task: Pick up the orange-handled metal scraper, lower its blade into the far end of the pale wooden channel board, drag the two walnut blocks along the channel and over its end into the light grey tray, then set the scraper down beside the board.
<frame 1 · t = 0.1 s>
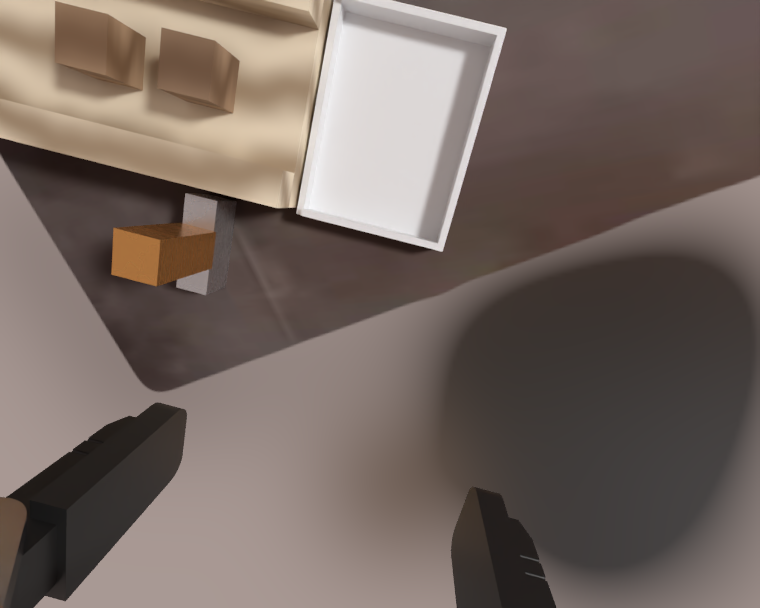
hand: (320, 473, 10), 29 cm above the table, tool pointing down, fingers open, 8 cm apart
chip a: (121, 58, 32), point 4 cm above the table, touching channel board
channel board: (173, 79, 35), on the table
scraper: (217, 241, 39), on the table
tray: (393, 134, 35), on the table
chip b: (213, 81, 31), point 4 cm above the table, touching channel board
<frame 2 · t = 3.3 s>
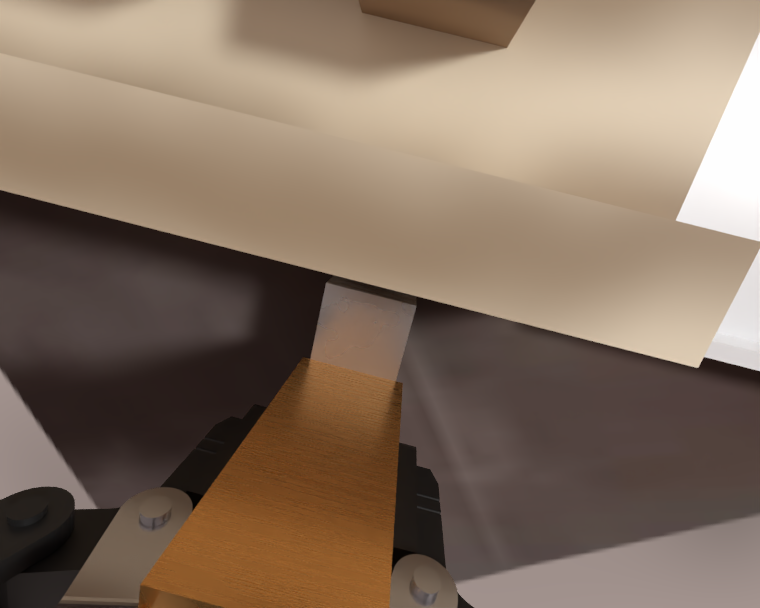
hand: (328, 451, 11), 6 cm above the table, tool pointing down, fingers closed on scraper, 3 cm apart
scraper: (357, 367, 17), on the table, touching gripper
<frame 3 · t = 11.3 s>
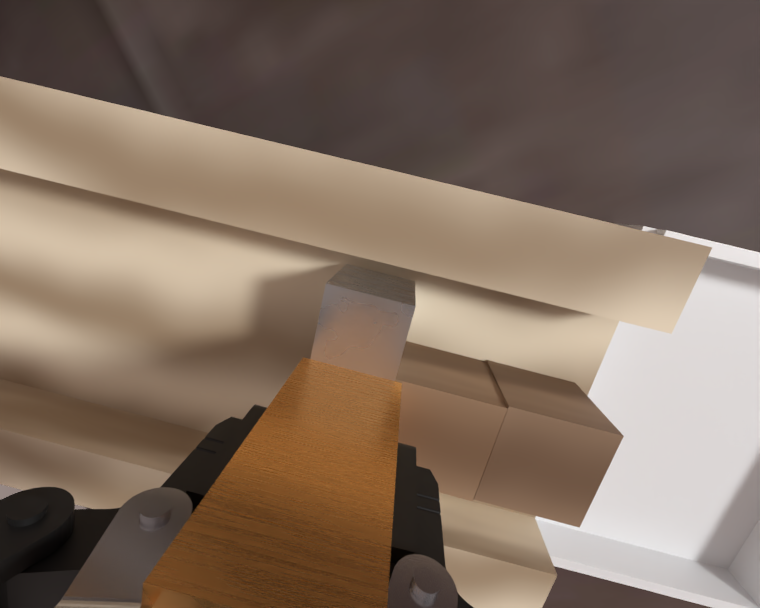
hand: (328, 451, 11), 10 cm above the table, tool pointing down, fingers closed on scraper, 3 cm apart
chip a: (430, 389, 17), point 4 cm above the table, touching chip b, scraper
channel board: (303, 321, 21), on the table
scraper: (357, 366, 17), point 4 cm above the table, touching chip a, gripper
tray: (675, 415, 21), on the table
chip b: (515, 410, 17), point 4 cm above the table, touching chip a
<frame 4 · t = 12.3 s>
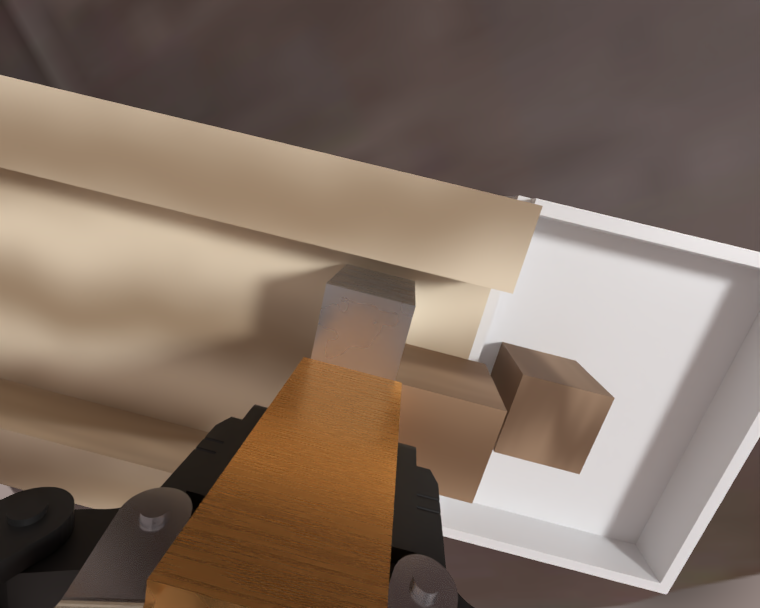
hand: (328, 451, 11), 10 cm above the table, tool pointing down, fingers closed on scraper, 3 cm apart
chip a: (429, 391, 17), point 4 cm above the table, touching scraper
channel board: (209, 297, 21), on the table
scraper: (358, 366, 17), point 4 cm above the table, touching chip a, gripper
tray: (577, 390, 21), on the table
chip b: (498, 392, 19), point 3 cm above the table, tilted 90°, touching tray
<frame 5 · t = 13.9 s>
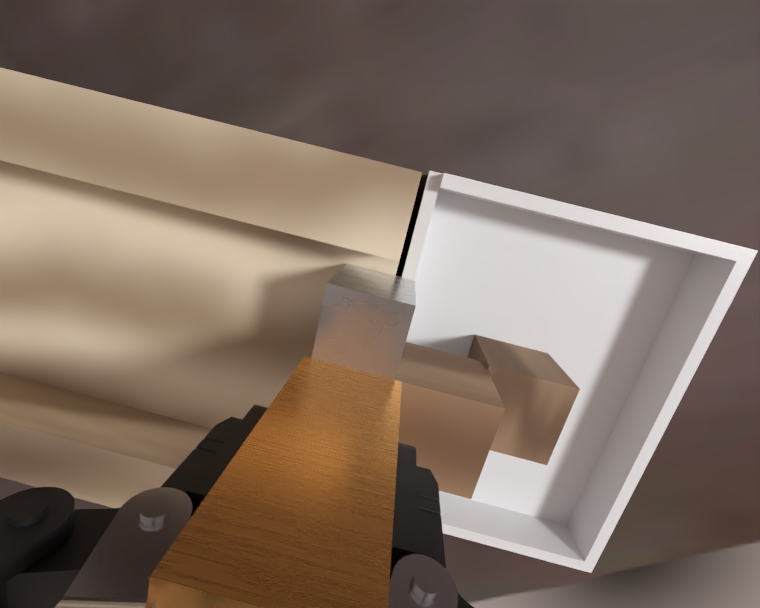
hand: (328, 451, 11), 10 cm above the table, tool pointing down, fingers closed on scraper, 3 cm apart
chip a: (429, 389, 18), point 4 cm above the table, touching chip b, scraper
channel board: (142, 275, 22), on the table
scraper: (358, 365, 17), point 4 cm above the table, touching chip a, gripper
tray: (506, 370, 21), on the table
chip b: (468, 384, 19), point 3 cm above the table, tilted 90°, touching chip a, tray
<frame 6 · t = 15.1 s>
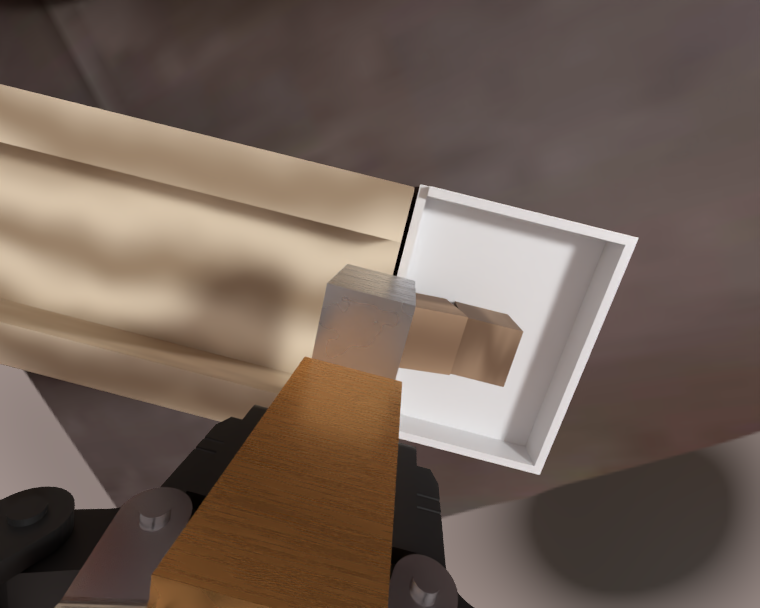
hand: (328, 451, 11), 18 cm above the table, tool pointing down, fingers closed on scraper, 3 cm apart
chip a: (412, 320, 27), point 2 cm above the table, tilted 15°, touching chip b, tray
channel board: (209, 260, 29), on the table
scraper: (358, 365, 17), point 12 cm above the table, touching gripper
tray: (477, 328, 29), on the table
chip b: (450, 334, 27), point 3 cm above the table, tilted 90°, touching chip a, tray
when the fingers open (7 cm above the table, at t = 20.4 s): scraper stays where it is, on the table.
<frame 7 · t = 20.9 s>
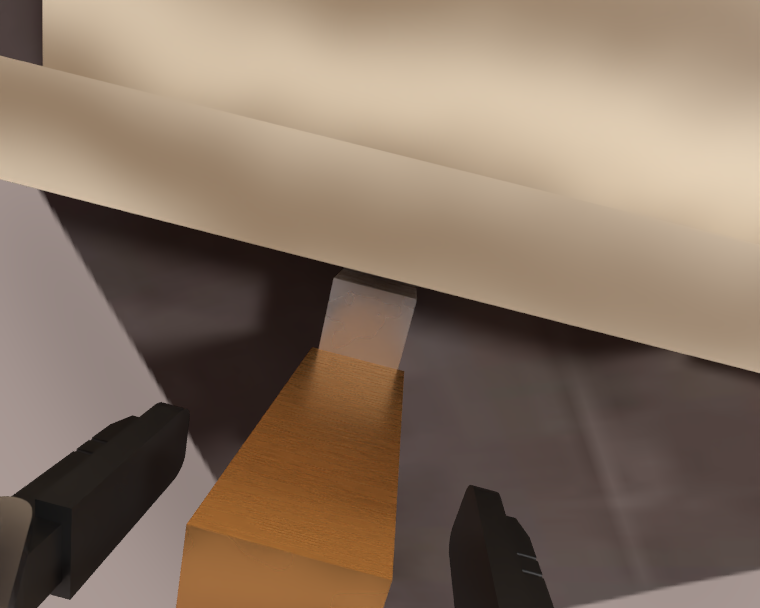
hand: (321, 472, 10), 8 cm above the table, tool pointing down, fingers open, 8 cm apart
channel board: (492, 39, 14), on the table
scraper: (361, 358, 18), on the table
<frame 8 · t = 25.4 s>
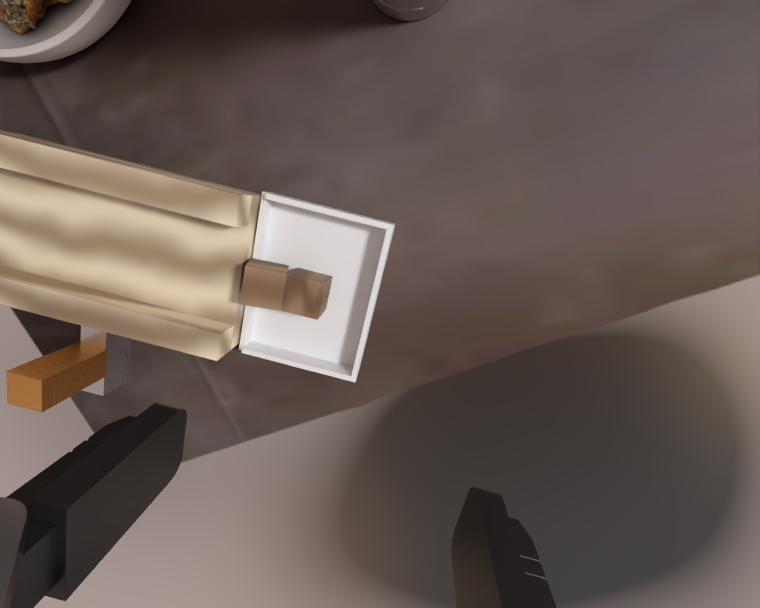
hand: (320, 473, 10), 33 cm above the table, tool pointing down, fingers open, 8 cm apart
chip a: (267, 279, 42), point 2 cm above the table, tilted 15°, touching chip b, tray
channel board: (139, 240, 44), on the table
scraper: (118, 346, 48), on the table
tray: (317, 286, 43), on the table
chip b: (289, 288, 41), point 3 cm above the table, tilted 90°, touching chip a, tray
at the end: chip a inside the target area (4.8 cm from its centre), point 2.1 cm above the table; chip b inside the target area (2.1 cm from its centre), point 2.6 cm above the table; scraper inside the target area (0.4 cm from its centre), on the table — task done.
